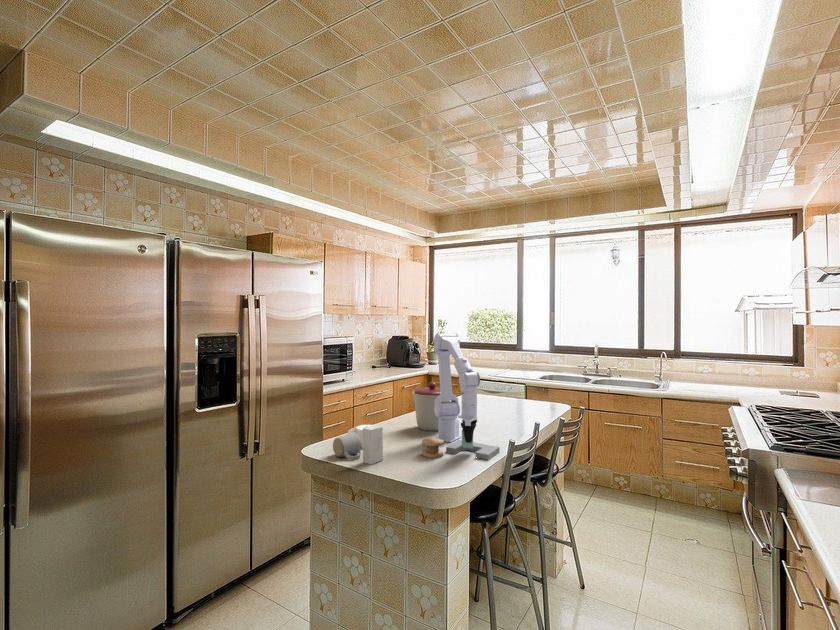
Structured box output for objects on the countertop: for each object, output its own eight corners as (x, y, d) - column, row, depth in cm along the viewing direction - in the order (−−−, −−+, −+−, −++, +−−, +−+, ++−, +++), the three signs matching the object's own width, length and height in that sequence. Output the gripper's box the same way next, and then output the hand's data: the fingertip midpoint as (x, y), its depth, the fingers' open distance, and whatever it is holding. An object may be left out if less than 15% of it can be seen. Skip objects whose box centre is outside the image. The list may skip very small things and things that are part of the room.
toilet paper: (345, 445, 170) (345, 428, 170) (368, 440, 178) (369, 423, 178) (357, 450, 164) (358, 432, 164) (381, 444, 172) (381, 427, 172)
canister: (405, 425, 203) (406, 380, 203) (440, 422, 210) (440, 378, 210) (422, 435, 186) (422, 386, 186) (458, 431, 194) (459, 383, 194)
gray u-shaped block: (458, 445, 172) (458, 440, 172) (499, 452, 163) (499, 446, 163) (446, 452, 163) (446, 447, 163) (488, 460, 154) (488, 454, 154)
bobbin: (428, 449, 166) (428, 436, 166) (447, 453, 161) (447, 440, 161) (417, 455, 159) (417, 441, 159) (436, 459, 155) (436, 445, 155)
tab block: (462, 444, 164) (462, 428, 164) (473, 445, 163) (473, 429, 163) (461, 447, 160) (461, 431, 160) (472, 448, 159) (472, 431, 159)
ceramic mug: (331, 455, 159) (331, 434, 158) (349, 450, 164) (349, 430, 164) (347, 462, 151) (348, 440, 151) (366, 457, 157) (367, 436, 157)
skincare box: (374, 458, 156) (374, 424, 156) (383, 460, 153) (383, 426, 153) (361, 462, 151) (362, 427, 151) (370, 465, 148) (370, 430, 148)
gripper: (460, 400, 169) (459, 434, 169) (456, 407, 155) (456, 445, 155) (478, 400, 168) (478, 435, 168) (476, 408, 154) (476, 446, 154)
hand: (469, 440), depth 161 cm, fingers closed on tab block, 4 cm apart
